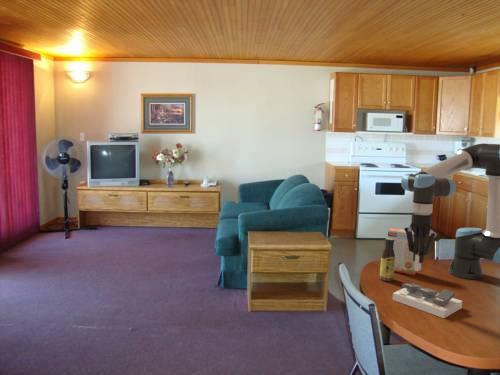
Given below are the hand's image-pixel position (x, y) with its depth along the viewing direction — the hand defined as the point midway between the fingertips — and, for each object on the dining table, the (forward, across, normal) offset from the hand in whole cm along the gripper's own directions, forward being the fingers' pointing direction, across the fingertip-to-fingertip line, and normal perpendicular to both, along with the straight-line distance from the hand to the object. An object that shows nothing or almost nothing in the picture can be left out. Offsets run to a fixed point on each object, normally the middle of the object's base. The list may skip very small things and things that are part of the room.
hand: (417, 269), depth 178 cm
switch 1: (+10, -4, +3) cm, 11 cm away
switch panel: (+14, +4, +3) cm, 15 cm away
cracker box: (+15, -24, +31) cm, 42 cm away
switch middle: (+10, +4, +3) cm, 11 cm away
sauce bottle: (+15, -22, +15) cm, 30 cm away
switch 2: (+10, +10, +3) cm, 15 cm away
